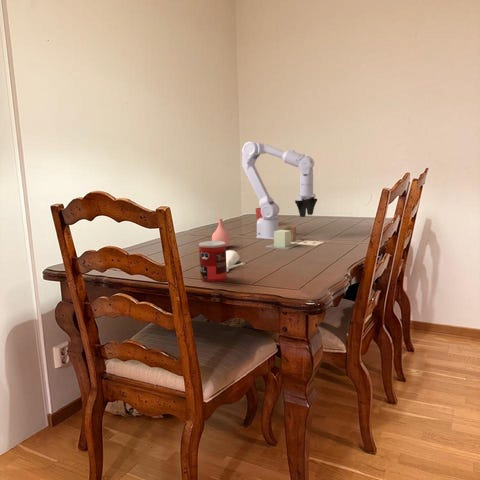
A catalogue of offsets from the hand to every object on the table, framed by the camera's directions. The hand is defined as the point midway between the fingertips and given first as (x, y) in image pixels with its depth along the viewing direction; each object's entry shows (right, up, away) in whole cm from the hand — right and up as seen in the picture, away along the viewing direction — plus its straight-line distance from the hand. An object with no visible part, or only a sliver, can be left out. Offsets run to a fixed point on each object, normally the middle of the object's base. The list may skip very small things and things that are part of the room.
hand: (306, 215), depth 193 cm
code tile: (0, -12, -9) cm, 15 cm away
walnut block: (-8, -11, -3) cm, 14 cm away
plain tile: (-8, -11, -3) cm, 14 cm away
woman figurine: (-33, -20, -45) cm, 60 cm away
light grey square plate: (-12, -14, -15) cm, 23 cm away
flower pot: (-15, -4, +43) cm, 46 cm away
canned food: (-37, -23, -61) cm, 75 cm away
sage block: (-12, -13, -15) cm, 23 cm away
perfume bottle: (-37, -14, -14) cm, 42 cm away
